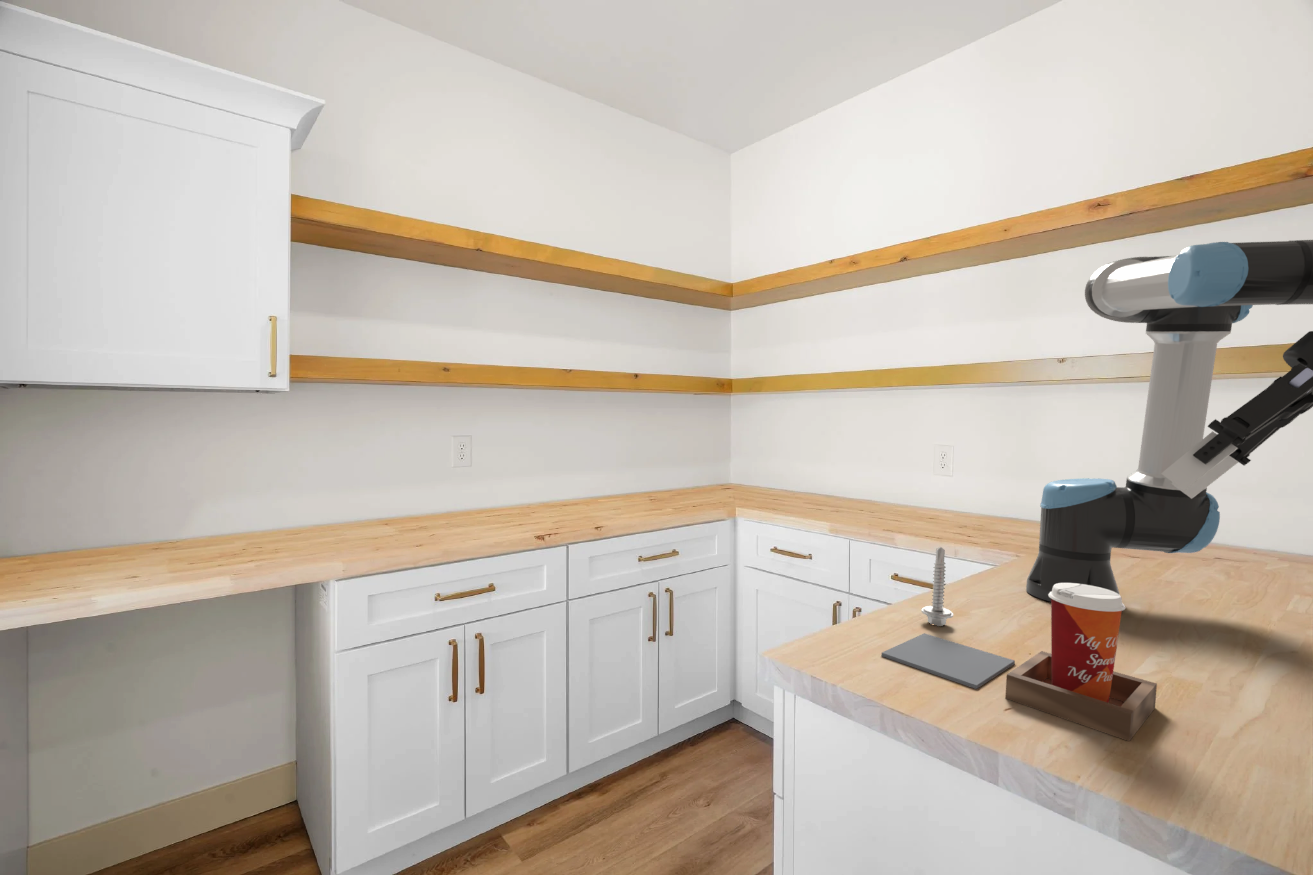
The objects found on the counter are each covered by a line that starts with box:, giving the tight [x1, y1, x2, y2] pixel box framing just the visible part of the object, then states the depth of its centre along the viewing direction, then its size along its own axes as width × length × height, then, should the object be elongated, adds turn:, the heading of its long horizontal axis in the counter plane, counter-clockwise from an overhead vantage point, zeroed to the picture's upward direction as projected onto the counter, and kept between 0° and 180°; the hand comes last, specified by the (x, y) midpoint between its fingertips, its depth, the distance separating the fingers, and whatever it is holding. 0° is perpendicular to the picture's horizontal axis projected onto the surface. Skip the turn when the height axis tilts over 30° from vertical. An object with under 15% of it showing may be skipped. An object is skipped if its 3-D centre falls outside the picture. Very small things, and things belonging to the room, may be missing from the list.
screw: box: [921, 546, 954, 627], centre depth 102 cm, size 13×5×5 cm
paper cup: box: [1048, 583, 1126, 703], centre depth 75 cm, size 8×8×14 cm
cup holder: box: [1004, 650, 1158, 742], centre depth 75 cm, size 12×12×3 cm
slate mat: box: [881, 632, 1016, 690], centre depth 87 cm, size 13×13×1 cm
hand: (1176, 487), depth 75 cm, fingers open, 13 cm apart
